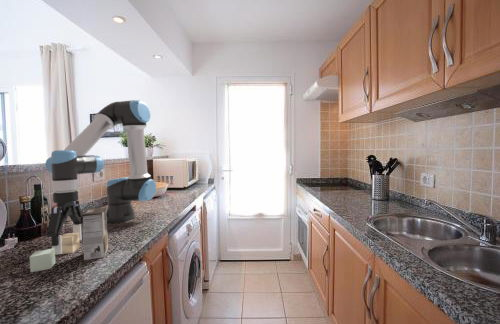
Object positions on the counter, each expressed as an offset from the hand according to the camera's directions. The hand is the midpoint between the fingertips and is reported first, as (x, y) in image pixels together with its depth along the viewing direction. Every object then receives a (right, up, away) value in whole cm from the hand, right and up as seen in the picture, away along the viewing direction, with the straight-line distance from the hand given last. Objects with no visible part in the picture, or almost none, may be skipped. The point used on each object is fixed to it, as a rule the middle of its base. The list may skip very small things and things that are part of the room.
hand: (68, 246), depth 90 cm
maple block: (0, -2, 0) cm, 2 cm away
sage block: (+2, -2, -13) cm, 13 cm away
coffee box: (+13, -2, -3) cm, 13 cm away
